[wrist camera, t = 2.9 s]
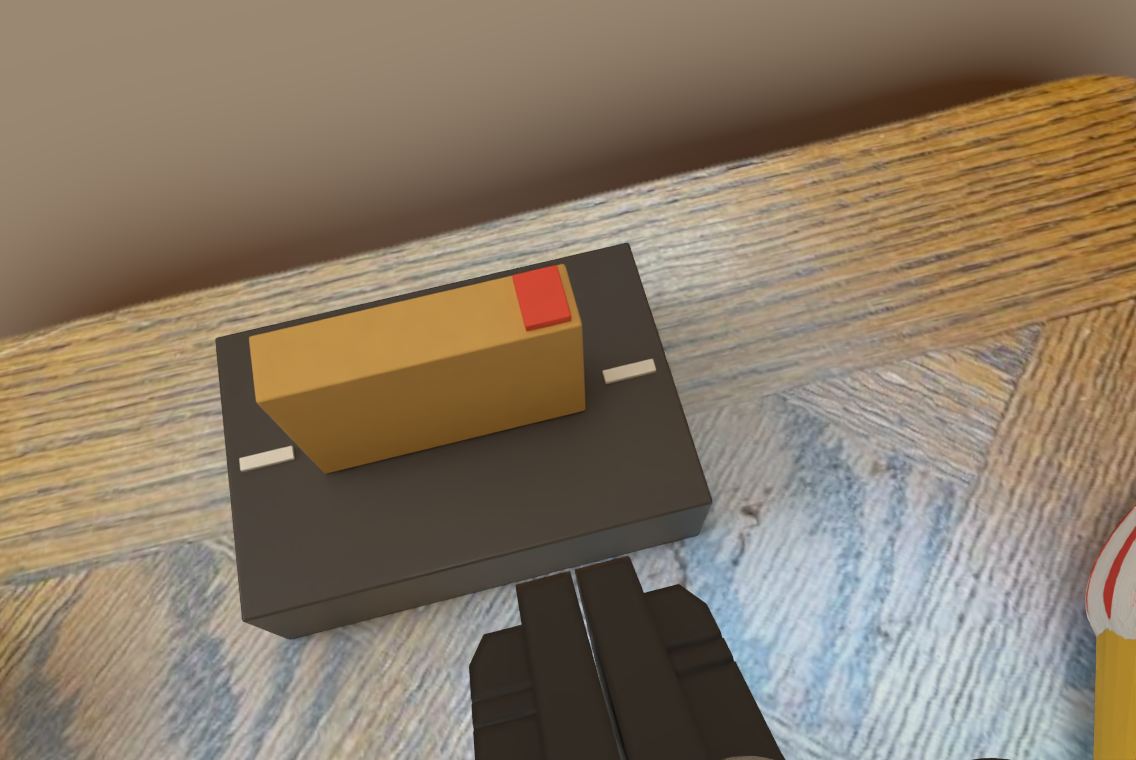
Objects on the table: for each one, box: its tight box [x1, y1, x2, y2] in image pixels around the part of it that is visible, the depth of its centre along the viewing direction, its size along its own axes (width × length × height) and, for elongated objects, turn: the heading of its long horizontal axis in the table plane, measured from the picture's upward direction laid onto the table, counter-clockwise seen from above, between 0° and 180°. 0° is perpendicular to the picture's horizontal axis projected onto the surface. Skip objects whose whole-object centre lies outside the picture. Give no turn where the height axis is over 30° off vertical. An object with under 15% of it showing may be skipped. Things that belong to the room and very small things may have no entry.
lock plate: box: [216, 243, 712, 639], centre depth 25 cm, size 12×8×4 cm, turn 104°
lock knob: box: [249, 264, 586, 474], centre depth 21 cm, size 7×2×5 cm, turn 104°
